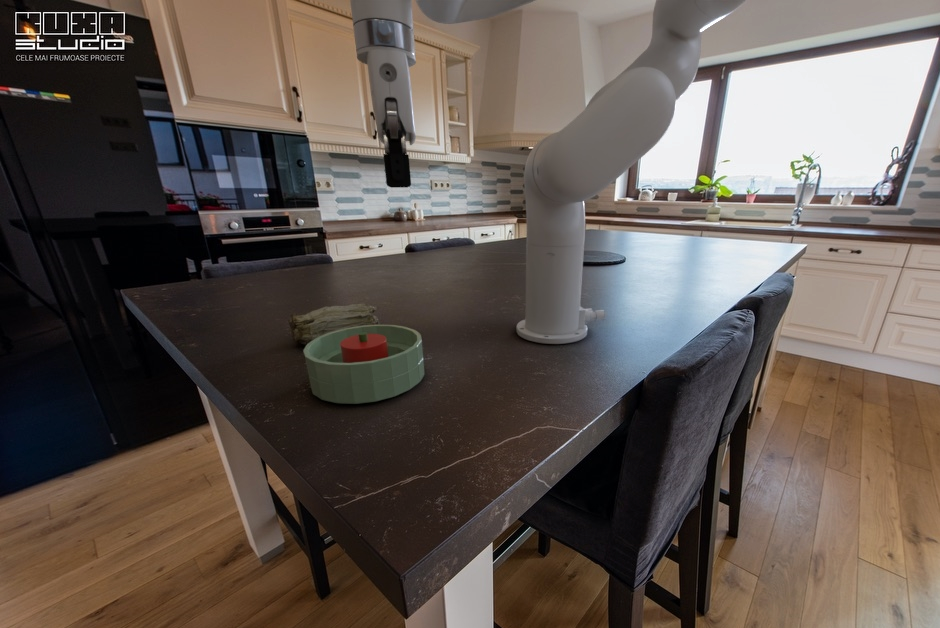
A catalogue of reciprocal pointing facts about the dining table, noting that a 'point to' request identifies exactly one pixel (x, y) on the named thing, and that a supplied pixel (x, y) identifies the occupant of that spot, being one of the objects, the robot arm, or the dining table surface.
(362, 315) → the olive rough flat block
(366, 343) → the red squat cylinder
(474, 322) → the dining table surface
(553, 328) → the robot arm
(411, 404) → the dining table surface
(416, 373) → the sage green round tray
